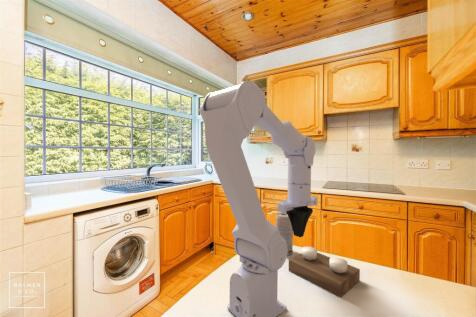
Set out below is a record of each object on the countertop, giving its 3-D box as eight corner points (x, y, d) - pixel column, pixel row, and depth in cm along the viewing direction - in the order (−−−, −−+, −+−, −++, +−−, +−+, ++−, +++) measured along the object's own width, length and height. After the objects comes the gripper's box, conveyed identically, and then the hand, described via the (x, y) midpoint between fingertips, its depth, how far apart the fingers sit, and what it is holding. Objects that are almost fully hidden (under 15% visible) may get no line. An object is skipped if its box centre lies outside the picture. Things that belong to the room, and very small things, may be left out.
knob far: (311, 274, 56) (311, 254, 56) (298, 267, 59) (298, 249, 59) (319, 269, 58) (319, 250, 58) (306, 263, 61) (306, 245, 61)
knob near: (342, 289, 49) (342, 267, 49) (325, 281, 53) (326, 260, 52) (350, 282, 52) (350, 261, 52) (333, 275, 55) (334, 255, 55)
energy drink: (291, 248, 71) (291, 212, 71) (293, 256, 66) (294, 217, 66) (274, 247, 72) (275, 212, 72) (276, 255, 67) (276, 216, 66)
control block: (340, 297, 47) (340, 284, 47) (288, 270, 58) (288, 259, 58) (359, 281, 53) (359, 269, 53) (309, 259, 64) (309, 249, 64)
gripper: (295, 187, 47) (294, 248, 48) (328, 182, 56) (327, 233, 57) (271, 184, 53) (270, 238, 53) (305, 180, 62) (304, 226, 62)
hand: (298, 235), depth 55 cm, fingers closed
